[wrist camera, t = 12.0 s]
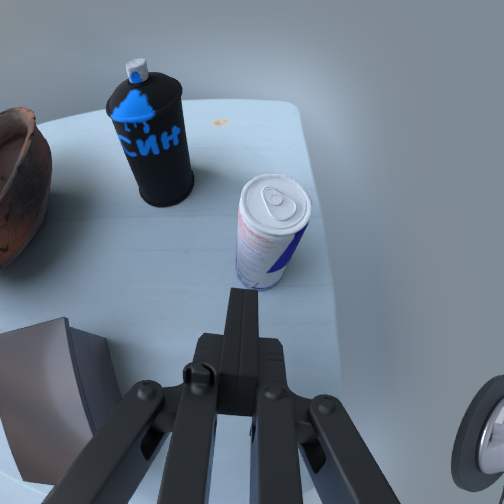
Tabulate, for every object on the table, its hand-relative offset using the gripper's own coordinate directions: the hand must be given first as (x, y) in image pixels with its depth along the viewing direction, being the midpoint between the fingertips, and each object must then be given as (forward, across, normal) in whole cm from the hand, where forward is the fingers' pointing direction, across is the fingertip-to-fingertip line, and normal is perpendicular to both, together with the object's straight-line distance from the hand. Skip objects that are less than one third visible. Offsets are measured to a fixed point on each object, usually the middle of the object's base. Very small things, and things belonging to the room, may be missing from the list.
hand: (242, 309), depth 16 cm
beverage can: (+18, -2, +6) cm, 19 cm away
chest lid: (-3, +19, +14) cm, 23 cm away
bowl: (+20, +38, +3) cm, 42 cm away
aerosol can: (+26, +12, -2) cm, 29 cm away
